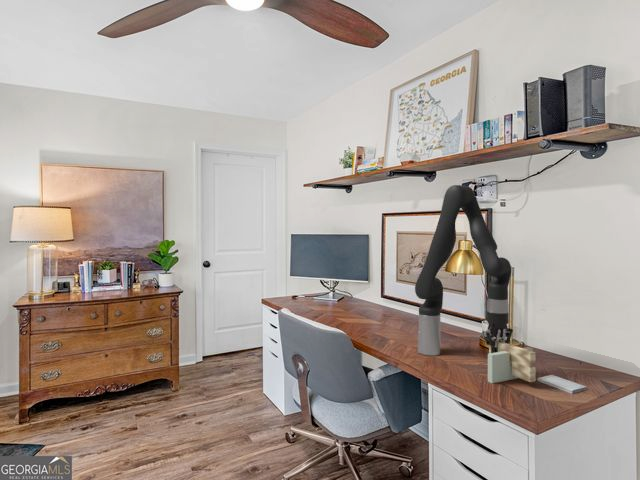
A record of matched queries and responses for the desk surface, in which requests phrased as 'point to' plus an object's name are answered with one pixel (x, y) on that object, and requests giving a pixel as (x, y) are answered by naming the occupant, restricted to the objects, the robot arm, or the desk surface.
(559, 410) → the desk surface
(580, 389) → the hard drive
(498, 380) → the slotted plate
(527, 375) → the pale wooden plank
